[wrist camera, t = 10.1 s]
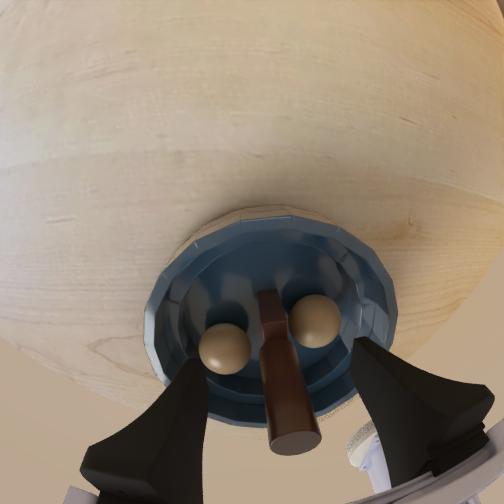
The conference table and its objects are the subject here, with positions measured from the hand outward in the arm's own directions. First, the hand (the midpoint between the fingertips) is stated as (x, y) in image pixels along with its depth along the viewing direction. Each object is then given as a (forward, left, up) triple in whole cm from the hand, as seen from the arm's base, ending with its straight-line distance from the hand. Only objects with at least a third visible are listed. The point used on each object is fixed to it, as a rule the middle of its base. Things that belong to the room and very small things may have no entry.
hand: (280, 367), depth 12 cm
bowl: (0, 0, -5) cm, 5 cm away
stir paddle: (0, 0, -5) cm, 5 cm away
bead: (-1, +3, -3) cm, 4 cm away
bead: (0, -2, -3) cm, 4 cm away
